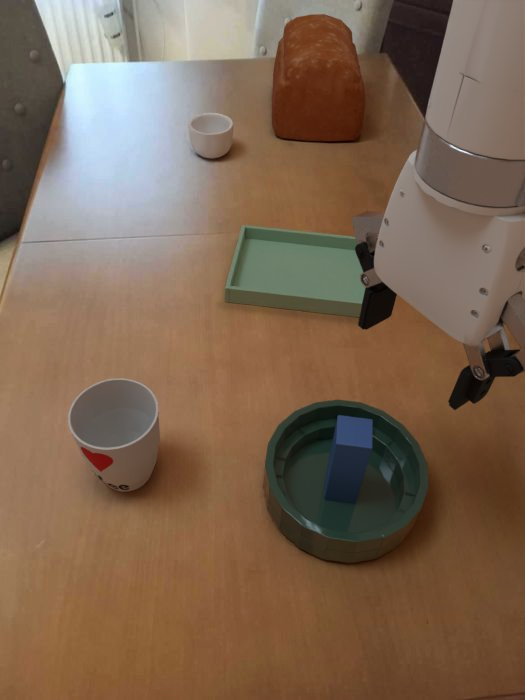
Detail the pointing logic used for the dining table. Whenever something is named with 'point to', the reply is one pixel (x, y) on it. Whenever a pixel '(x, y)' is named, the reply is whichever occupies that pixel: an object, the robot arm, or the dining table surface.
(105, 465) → the cup
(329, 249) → the tray
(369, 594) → the dining table surface
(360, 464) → the block
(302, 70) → the bread
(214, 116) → the teacup
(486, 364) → the robot arm
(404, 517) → the green bowl
